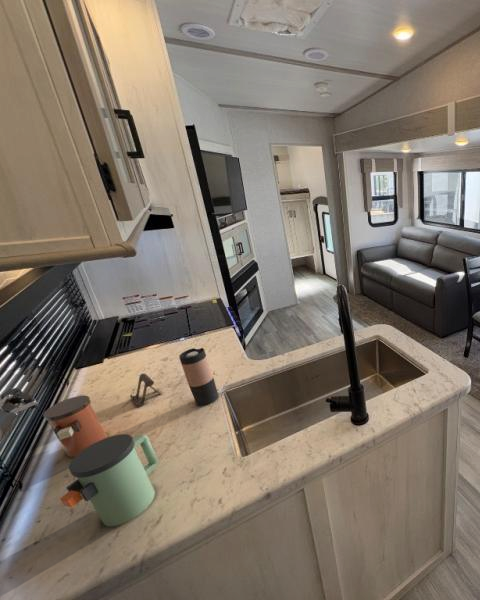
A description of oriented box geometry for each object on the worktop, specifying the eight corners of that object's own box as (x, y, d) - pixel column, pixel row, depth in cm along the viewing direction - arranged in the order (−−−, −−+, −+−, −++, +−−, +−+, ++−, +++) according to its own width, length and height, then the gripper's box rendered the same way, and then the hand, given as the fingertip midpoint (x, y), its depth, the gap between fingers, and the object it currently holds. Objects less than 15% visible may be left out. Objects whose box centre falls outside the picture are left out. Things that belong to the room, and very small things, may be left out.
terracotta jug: (75, 436, 99) (54, 397, 94) (114, 424, 104) (96, 386, 99) (59, 467, 88) (34, 425, 83) (103, 451, 93) (82, 410, 87)
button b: (62, 435, 86) (59, 429, 86) (74, 431, 88) (71, 426, 87) (60, 439, 85) (56, 434, 84) (71, 436, 86) (68, 430, 85)
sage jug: (148, 471, 85) (124, 421, 79) (179, 477, 82) (158, 426, 76) (82, 529, 71) (48, 473, 65) (118, 539, 68) (85, 482, 62)
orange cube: (75, 496, 66) (71, 489, 65) (83, 498, 65) (79, 491, 64) (63, 505, 64) (59, 498, 63) (72, 507, 63) (67, 500, 63)
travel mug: (199, 410, 108) (182, 361, 101) (193, 401, 113) (176, 353, 106) (222, 398, 113) (207, 351, 106) (215, 390, 118) (200, 345, 111)
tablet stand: (131, 399, 116) (123, 381, 113) (156, 388, 122) (148, 370, 119) (138, 408, 111) (129, 389, 108) (163, 396, 117) (156, 378, 114)
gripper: (11, 408, 60) (47, 368, 74) (-99, 438, 53) (-37, 388, 67) (29, 438, 62) (61, 394, 76) (-74, 470, 56) (-19, 416, 70)
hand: (15, 391), depth 72 cm, fingers closed
